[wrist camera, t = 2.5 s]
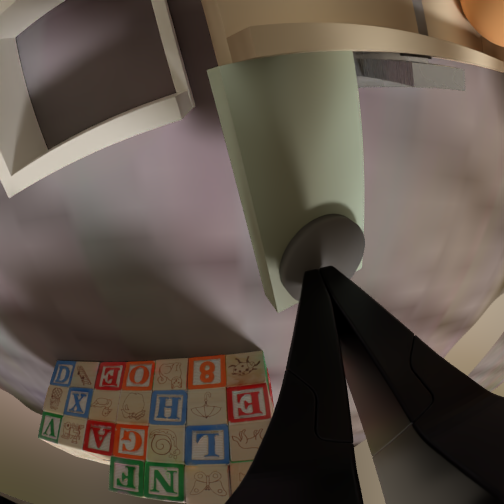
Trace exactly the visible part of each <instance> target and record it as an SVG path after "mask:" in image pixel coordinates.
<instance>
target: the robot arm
mask: <svg viewBox="0 0 504 504" xmlns="http://www.w3.org/2000/svg"><path fill="white" fill-rule="evenodd" d="M345 377H346V378H345ZM346 380H347V383H348V385H349V388H350V391H351V394H352V397H353V400H354V403H355V405H356V408H357V411H358V414H359V417H360V420H361V423H362V426H363V429H364V432H365V435H366V439H367V442H368V445H369V448H370V451H371V454H372V456H373V461H374V464H375V468H376V471H377V474H378V477H379V481H380V484H381V488H382V491H383V495H384V498H385V502H386V504H504V397H501V396H498V395H496V394H493V393H491V392H490V391H488V390H486V389H485V388H483V387H482V386H480V385H479V384H478V383H476V382H475V381H473V380H472V379H471V378H469V377H468V376H467V375H465V374H464V373H462V372H461V371H459V370H458V369H457V368H455V367H454V366H453V365H451V364H450V363H449V362H447V361H446V360H445V359H443V358H442V357H441V356H439V355H438V354H437V353H436V352H435V351H433V350H432V349H431V348H430V347H429V346H428V345H426V344H425V343H424V342H423V341H422V340H421V339H419V338H418V337H417V336H416V335H415V336H414V333H413V332H411V331H410V330H409V329H408V328H407V327H406V326H405V325H403V324H402V323H401V322H400V321H399V320H398V319H396V318H395V317H394V316H393V315H392V314H391V313H389V312H388V311H387V310H386V309H385V308H384V307H382V306H381V305H380V304H379V303H378V302H376V301H375V300H374V299H373V298H372V297H370V296H369V295H368V294H367V293H366V292H364V291H363V290H362V289H361V288H360V287H358V286H357V285H356V284H355V283H354V282H352V281H351V280H350V279H349V278H347V277H346V276H345V275H344V274H343V273H341V272H340V271H339V270H338V269H336V268H335V267H334V266H326V267H321V268H320V269H319V270H318V269H312V270H307V271H305V272H304V276H303V282H302V288H301V294H300V299H299V305H298V310H297V316H296V321H295V326H294V332H293V337H292V342H291V347H290V352H289V356H288V361H287V366H286V371H285V374H284V379H283V383H282V387H281V391H280V394H279V398H278V401H277V404H276V407H275V410H274V413H273V415H272V418H271V421H270V423H269V425H268V428H267V430H266V433H265V435H264V437H263V439H262V442H261V444H260V446H259V448H258V451H257V453H256V455H255V457H254V459H253V462H252V464H251V465H250V467H249V469H248V471H247V473H246V475H245V476H244V478H243V480H242V481H241V483H240V484H239V486H238V487H237V488H236V490H235V491H234V492H233V494H232V495H231V496H230V497H229V499H228V500H227V501H226V502H225V503H224V504H363V499H362V493H361V488H360V483H359V479H358V474H357V468H356V461H355V454H354V445H353V444H352V443H353V433H352V424H351V415H350V407H349V399H348V392H347V385H346ZM0 504H32V503H29V502H26V501H23V500H19V499H17V498H14V497H11V496H9V495H6V494H4V493H1V492H0Z"/></svg>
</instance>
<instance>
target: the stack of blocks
mask: <svg viewBox="0 0 504 504" xmlns="http://www.w3.org/2000/svg"><path fill="white" fill-rule="evenodd" d="M43 411H44V412H43V415H42V420H41V424H40V429H39V435H38V438H40V439H42V440H43V441H45V442H47V443H49V444H51V445H53V446H55V447H57V448H59V449H62V450H64V451H66V452H68V453H70V454H72V455H74V456H77V457H80V458H84V459H88V460H93V461H96V462H100V463H105V464H110V474H109V491H113V492H118V493H122V494H127V495H133V496H138V497H143V498H149V499H157V500H163V501H171V502H180V503H187V504H224V503H225V502H226V501H227V500H228V499H229V497H230V496H231V495H232V494H233V492H234V491H235V490H236V488H237V487H238V486H239V484H240V483H241V481H242V480H243V478H244V476H245V475H246V473H247V471H248V469H249V467H250V465H251V464H252V462H253V459H254V457H255V455H256V453H257V451H258V448H259V446H260V444H261V442H262V439H263V437H264V435H265V433H266V430H267V428H268V425H269V423H270V421H271V418H272V415H273V413H274V405H273V397H272V390H271V382H270V378H269V374H268V370H267V368H266V364H265V359H264V355H263V351H254V352H247V353H238V354H230V355H215V356H205V357H193V358H178V359H163V360H156V361H136V362H102V363H100V362H81V361H77V362H76V361H57V362H56V365H55V369H54V372H53V375H52V378H51V381H50V386H49V387H48V391H47V395H46V398H45V402H44V406H43Z"/></svg>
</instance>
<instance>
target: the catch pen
mask: <svg viewBox="0 0 504 504" xmlns="http://www.w3.org/2000/svg"><path fill="white" fill-rule="evenodd" d="M64 1H66V0H1V1H0V180H1V182H2V184H3V187H4V189H5V191H6V193H7V195H8V197H9V198H10V197H12V196H14V195H15V194H17V193H18V192H20V191H22V190H23V189H25V188H27V187H28V186H30V185H32V184H33V183H35V182H37V181H39V180H40V179H42V178H44V177H46V176H48V175H49V174H51V173H53V172H55V171H57V170H59V169H61V168H63V167H65V166H67V165H69V164H71V163H73V162H75V161H77V160H79V159H81V158H83V157H85V156H87V155H90V154H92V153H94V152H96V151H98V150H101V149H103V148H105V147H108V146H110V145H112V144H115V143H117V142H120V141H122V140H125V139H127V138H130V137H133V136H135V135H138V134H141V133H143V132H146V131H149V130H152V129H155V128H158V127H161V126H164V125H167V124H170V123H173V122H176V121H179V120H182V119H183V118H184V117H185V116H186V115H187V114H188V113H189V112H190V110H191V109H192V108H194V107H195V102H194V98H193V95H192V91H191V88H190V84H189V81H188V77H187V73H186V70H185V66H184V62H183V59H182V55H181V51H180V48H179V44H178V40H177V37H176V33H175V29H174V25H173V22H172V18H171V14H170V10H169V7H168V3H167V0H151V2H152V6H153V10H154V14H155V18H156V21H157V25H158V29H159V33H160V36H161V40H162V44H163V47H164V51H165V55H166V58H167V62H168V65H169V69H170V72H171V76H172V79H173V83H174V86H175V90H176V93H175V94H172V95H169V96H166V97H163V98H160V99H157V100H154V101H151V102H149V103H146V104H143V105H141V106H138V107H136V108H133V109H130V110H128V111H126V112H123V113H121V114H118V115H116V116H114V117H111V118H109V119H107V120H105V121H103V122H100V123H98V124H96V125H94V126H92V127H90V128H88V129H86V130H84V131H82V132H80V133H78V134H76V135H74V136H72V137H70V138H68V139H67V140H65V141H63V142H61V143H59V144H58V145H56V146H54V147H52V148H51V149H49V150H48V148H47V146H46V143H45V141H44V138H43V135H42V133H41V130H40V127H39V124H38V122H37V119H36V116H35V113H34V110H33V107H32V103H31V100H30V97H29V94H28V90H27V87H26V83H25V79H24V75H23V71H22V67H21V63H20V59H19V54H18V49H17V44H16V38H15V37H17V36H18V35H19V34H20V33H21V32H23V31H24V30H25V29H26V28H28V27H29V26H30V25H31V24H33V23H34V22H35V21H37V20H38V19H39V18H41V17H42V16H43V15H45V14H46V13H48V12H49V11H50V10H52V9H53V8H55V7H56V6H58V5H59V4H61V3H62V2H64Z"/></svg>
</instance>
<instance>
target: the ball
mask: <svg viewBox="0 0 504 504" xmlns="http://www.w3.org/2000/svg"><path fill="white" fill-rule="evenodd" d="M460 2H461V6H462V9H463V12H464V14H465V16H466V18H467V19H468V21H469V22H470V24H471V25H472V26H473V27H474V29H475V30H476V31H477V32H478V33H479V34H481V35H482V36H483V37H484V38H486V39H487V40H489V41H490V42H492V43H494V44H496V45H499V46H502V47H504V0H460Z"/></svg>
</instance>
